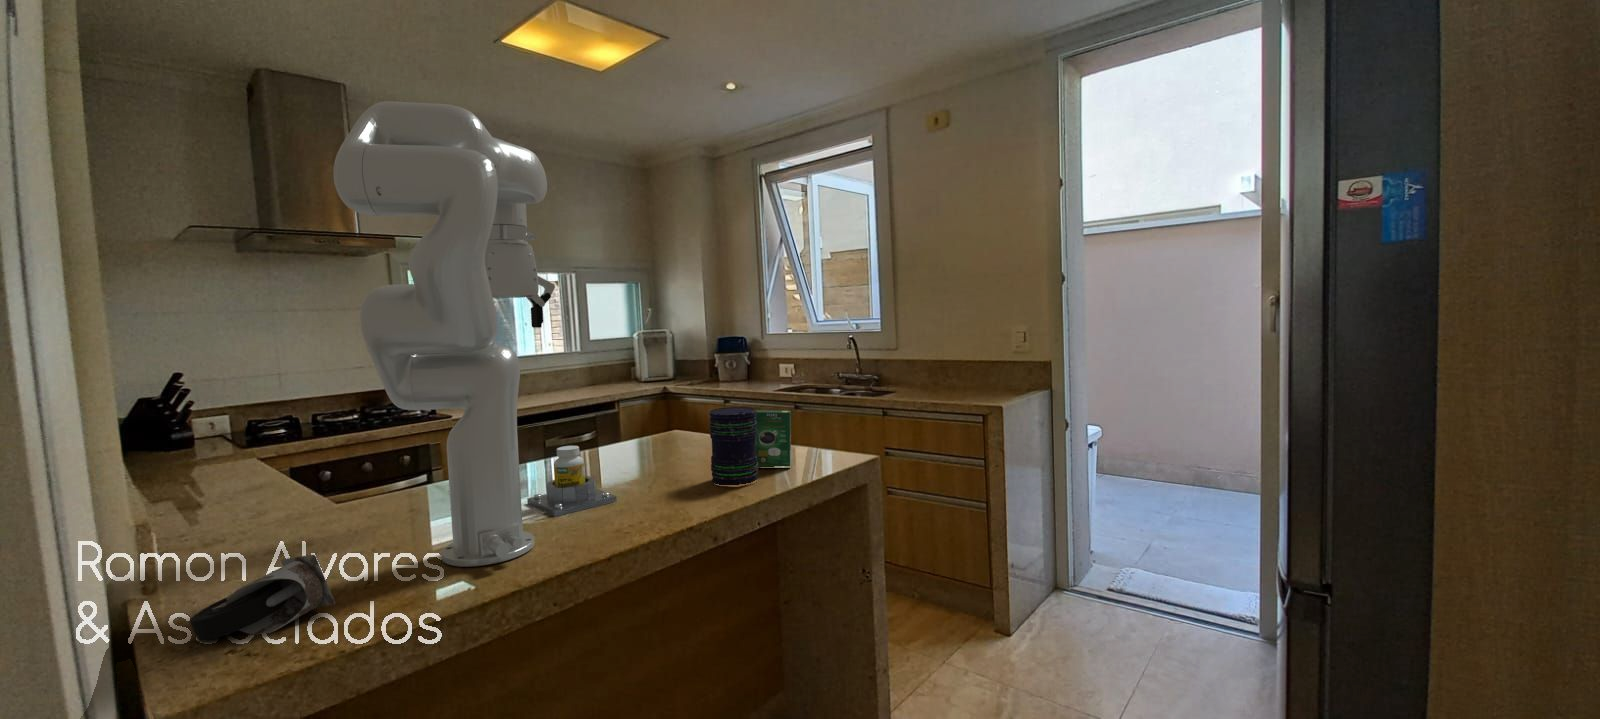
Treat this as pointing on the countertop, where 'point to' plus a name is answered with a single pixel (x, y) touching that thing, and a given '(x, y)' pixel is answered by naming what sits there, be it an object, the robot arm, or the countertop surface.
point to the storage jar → (733, 445)
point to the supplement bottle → (569, 467)
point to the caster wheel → (267, 601)
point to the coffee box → (773, 438)
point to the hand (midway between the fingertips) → (511, 328)
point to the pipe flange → (570, 498)
